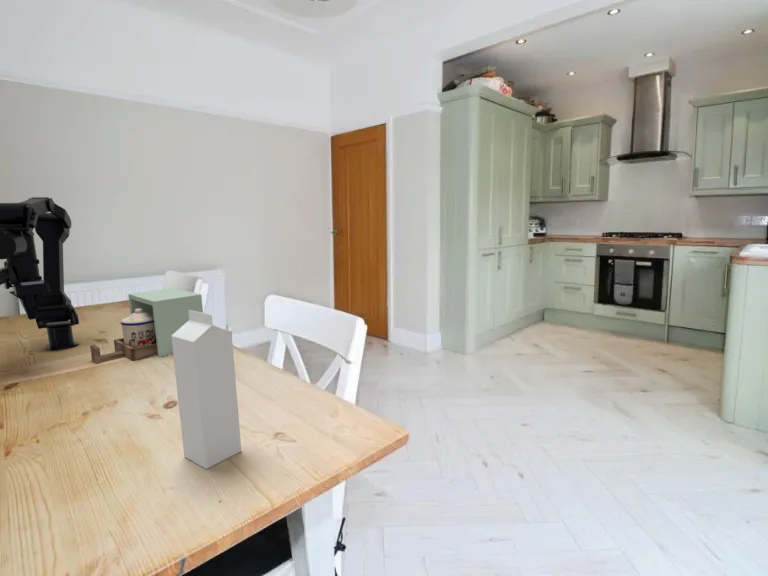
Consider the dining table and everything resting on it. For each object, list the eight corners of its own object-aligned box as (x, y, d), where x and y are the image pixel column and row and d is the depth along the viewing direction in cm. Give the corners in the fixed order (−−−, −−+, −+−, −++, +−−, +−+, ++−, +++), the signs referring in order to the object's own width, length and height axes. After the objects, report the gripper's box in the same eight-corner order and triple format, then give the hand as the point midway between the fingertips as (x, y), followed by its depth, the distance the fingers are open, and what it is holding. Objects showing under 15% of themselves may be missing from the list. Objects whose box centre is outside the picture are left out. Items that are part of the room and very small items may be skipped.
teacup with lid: (126, 358, 114) (121, 314, 112) (122, 350, 121) (117, 308, 119) (176, 348, 121) (172, 307, 119) (169, 341, 128) (165, 302, 126)
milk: (219, 440, 70) (207, 306, 67) (242, 451, 66) (231, 310, 63) (183, 457, 65) (168, 313, 62) (205, 470, 62) (191, 318, 58)
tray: (86, 356, 116) (84, 341, 115) (176, 337, 132) (175, 324, 132) (102, 368, 106) (100, 352, 105) (197, 345, 123) (195, 332, 122)
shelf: (134, 344, 126) (128, 293, 124) (177, 334, 135) (172, 288, 133) (159, 357, 113) (153, 301, 111) (206, 346, 122) (201, 294, 120)
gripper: (-29, 257, 105) (-17, 320, 107) (-20, 261, 92) (-7, 332, 95) (30, 253, 113) (39, 312, 115) (45, 256, 100) (55, 322, 103)
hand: (31, 319), depth 107 cm, fingers closed
